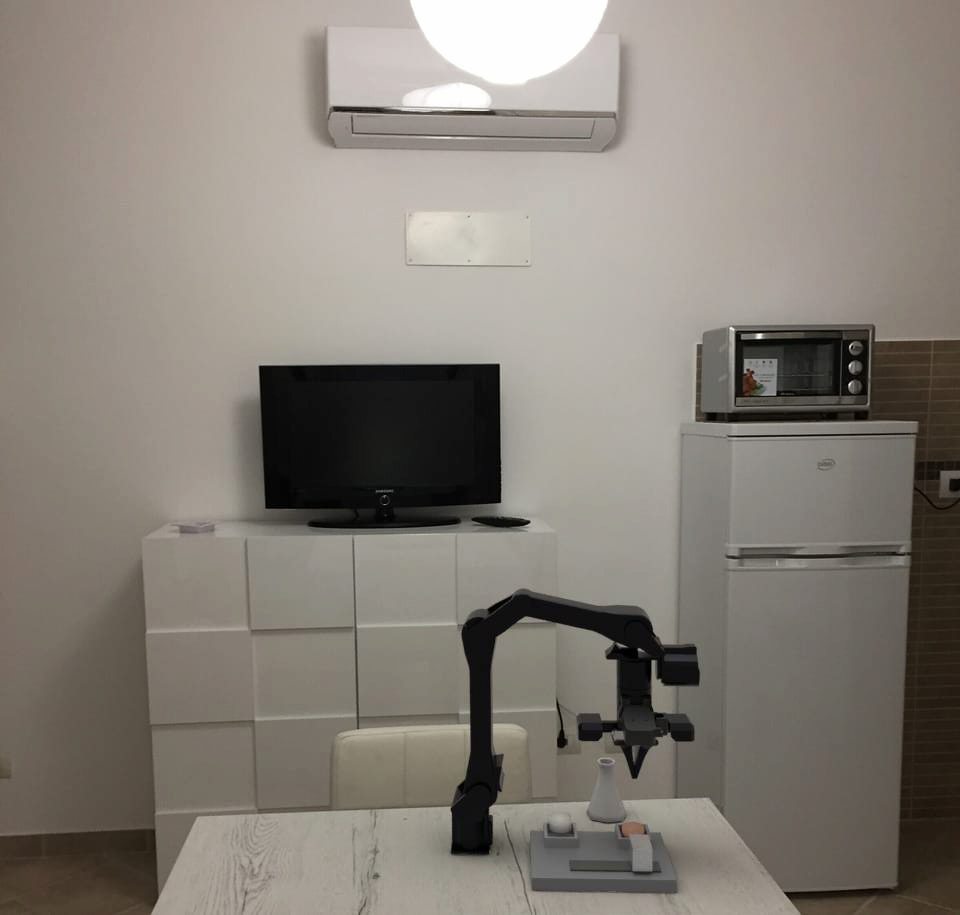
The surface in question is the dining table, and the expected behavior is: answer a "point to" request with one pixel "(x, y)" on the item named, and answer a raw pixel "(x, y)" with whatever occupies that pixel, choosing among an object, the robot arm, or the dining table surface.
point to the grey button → (560, 822)
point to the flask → (606, 795)
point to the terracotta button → (632, 829)
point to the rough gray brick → (640, 852)
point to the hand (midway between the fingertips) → (634, 778)
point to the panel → (596, 862)
